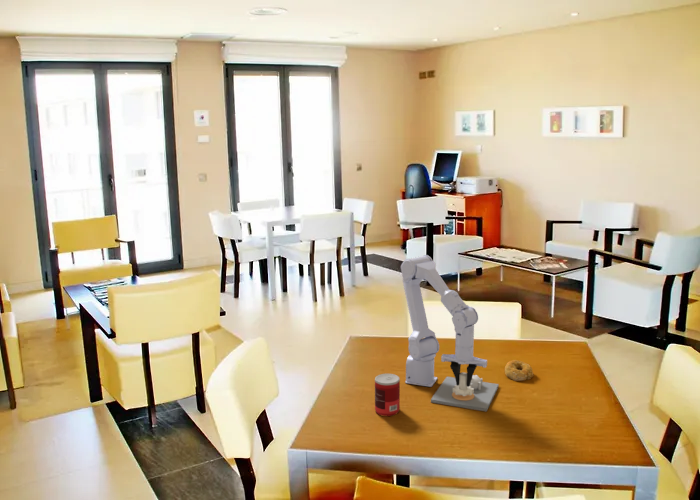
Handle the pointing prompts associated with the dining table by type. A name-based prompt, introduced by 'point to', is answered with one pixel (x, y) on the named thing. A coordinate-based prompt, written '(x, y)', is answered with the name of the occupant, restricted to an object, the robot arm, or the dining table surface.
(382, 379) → the canned food
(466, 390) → the planet gear
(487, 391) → the plate
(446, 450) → the dining table surface
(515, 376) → the bagel
